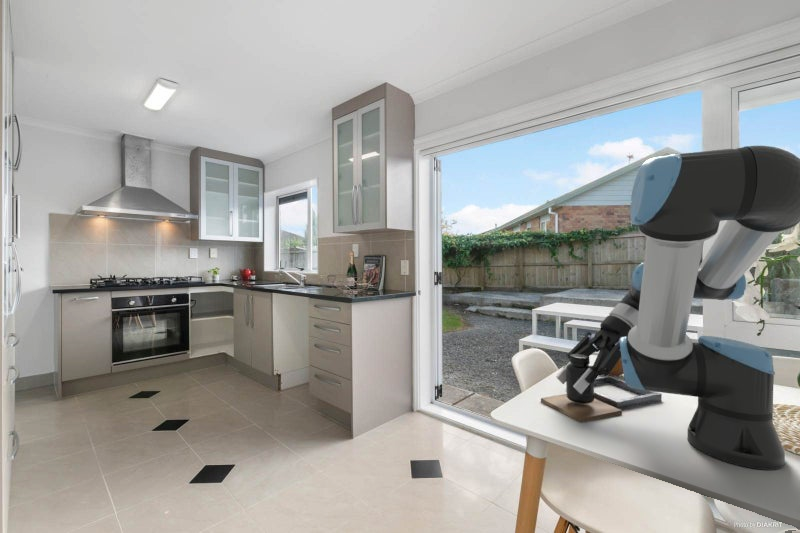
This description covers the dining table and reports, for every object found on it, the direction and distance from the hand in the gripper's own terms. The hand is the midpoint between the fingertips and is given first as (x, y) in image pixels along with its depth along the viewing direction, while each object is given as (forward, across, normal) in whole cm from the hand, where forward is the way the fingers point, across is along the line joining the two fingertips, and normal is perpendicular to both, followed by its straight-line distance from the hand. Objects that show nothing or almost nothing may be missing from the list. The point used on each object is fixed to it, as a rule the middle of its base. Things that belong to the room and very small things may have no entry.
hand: (568, 385), depth 98 cm
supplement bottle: (+1, 0, -6) cm, 6 cm away
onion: (-19, +22, -28) cm, 41 cm away
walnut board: (+2, 0, -7) cm, 7 cm away
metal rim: (-9, +7, -18) cm, 22 cm away
